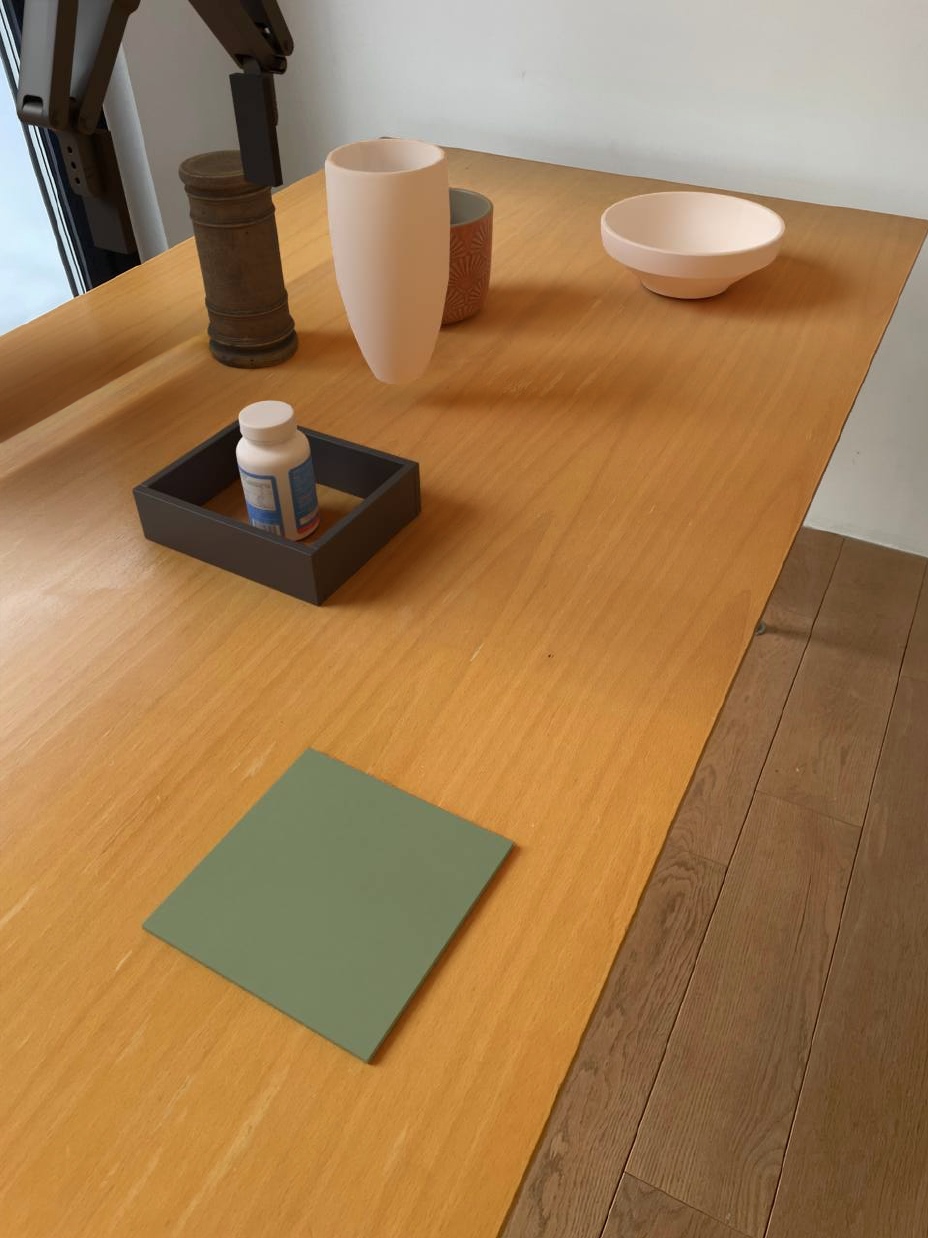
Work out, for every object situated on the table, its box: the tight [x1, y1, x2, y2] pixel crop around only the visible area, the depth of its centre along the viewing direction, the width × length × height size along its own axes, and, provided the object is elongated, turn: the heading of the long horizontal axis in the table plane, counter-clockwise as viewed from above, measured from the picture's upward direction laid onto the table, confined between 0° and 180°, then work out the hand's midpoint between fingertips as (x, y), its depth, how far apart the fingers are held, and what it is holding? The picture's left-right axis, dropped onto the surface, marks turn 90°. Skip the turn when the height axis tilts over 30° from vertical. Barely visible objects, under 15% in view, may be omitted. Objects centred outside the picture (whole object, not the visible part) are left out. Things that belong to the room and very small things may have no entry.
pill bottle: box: [236, 400, 321, 542], centre depth 75 cm, size 6×5×10 cm
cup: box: [324, 138, 450, 385], centre depth 86 cm, size 10×10×22 cm
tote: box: [131, 418, 422, 607], centre depth 77 cm, size 17×14×4 cm
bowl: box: [600, 191, 787, 299], centre depth 111 cm, size 20×20×7 cm
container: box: [177, 149, 299, 369], centre depth 96 cm, size 9×9×18 cm
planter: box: [441, 186, 494, 325], centre depth 105 cm, size 12×12×11 cm
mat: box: [141, 746, 515, 1065], centre depth 53 cm, size 14×14×1 cm
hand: (195, 214), depth 64 cm, fingers open, 13 cm apart
